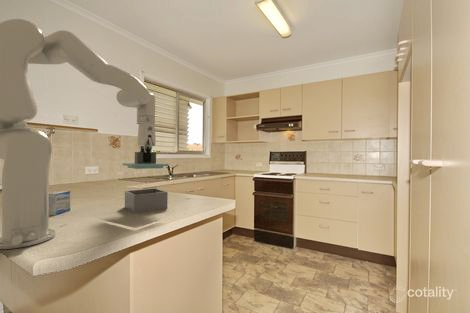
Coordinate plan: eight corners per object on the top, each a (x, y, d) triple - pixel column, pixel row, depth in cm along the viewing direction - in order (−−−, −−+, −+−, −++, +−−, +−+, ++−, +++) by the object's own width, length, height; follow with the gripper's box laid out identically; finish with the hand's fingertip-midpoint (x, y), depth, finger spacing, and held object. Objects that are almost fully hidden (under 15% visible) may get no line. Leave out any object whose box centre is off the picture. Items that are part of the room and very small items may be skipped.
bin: (167, 209, 97) (167, 191, 97) (134, 215, 88) (134, 195, 88) (155, 204, 108) (155, 188, 108) (124, 208, 98) (124, 191, 98)
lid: (168, 168, 97) (168, 152, 97) (132, 169, 87) (132, 151, 87) (155, 167, 108) (155, 152, 108) (122, 167, 98) (122, 152, 98)
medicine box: (55, 215, 87) (55, 193, 87) (44, 215, 87) (44, 193, 87) (70, 210, 95) (70, 190, 95) (60, 210, 95) (60, 190, 95)
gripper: (161, 119, 94) (161, 162, 93) (147, 124, 106) (147, 161, 106) (143, 117, 89) (143, 162, 89) (131, 122, 101) (130, 161, 101)
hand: (145, 161), depth 97 cm, fingers closed on lid, 4 cm apart
